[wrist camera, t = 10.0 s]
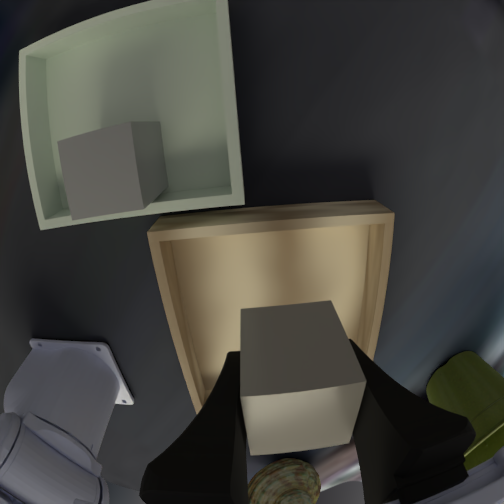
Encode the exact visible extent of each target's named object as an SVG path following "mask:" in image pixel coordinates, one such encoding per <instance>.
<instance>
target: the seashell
mask: <svg viewBox="0 0 504 504" xmlns="http://www.w3.org/2000/svg"><path fill="white" fill-rule="evenodd" d="M320 489H321V483H320V479H319V475H318V473H317V472H316V471H315V469H314V467H313V466H312V465H310V464H309V463H307V462H304V461H302V460H297V459H295V458H285V459H281V460H278V461H275V462H273V463H271V464H269V465H267V466H266V467H264V468H263V469H261V470H260V471H259V472H258V473H256V474H255V475H254V477H253V478H252V479H251V481H250V482H249V484H248V500H249V504H315V503H316V502H317V499H318V497H319V493H320Z"/></svg>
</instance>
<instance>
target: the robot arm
mask: <svg viewBox="0 0 504 504" xmlns="http://www.w3.org/2000/svg"><path fill="white" fill-rule="evenodd" d="M349 341H350V344H351V346H352V348H353V350H354V353H355V355H356V357H357V360H358V362H359V364H360V367H361V369H362V371H363V374H364V376H365V379H366V385H365V389H364V393H363V397H362V401H361V405H360V408H359V412H358V415H357V419H356V422H355V425H354V429H353V432H352V433H353V437H354V441H355V445H356V450H357V455H358V460H359V465H360V471H361V477H362V483H363V490H364V500H365V504H501V503H502V502H504V446H503V447H502V448H500V449H499V450H498V451H497V452H496V453H495V455H494V456H493V457H492V458H490V459H488V460H487V461H485V462H483V463H481V464H479V465H478V466H476V467H474V468H472V469H470V470H468V471H467V470H466V468H465V466H464V464H463V463H464V462H465V461H466V459H465V457H464V455H463V454H464V453H465V451H466V450H467V449H468V448H469V446H470V445H471V444H472V443H473V441H474V440H475V437H476V432H475V430H474V428H473V426H472V424H471V423H470V421H469V420H468V418H467V417H465V416H462V415H459V414H456V413H453V412H450V411H447V410H445V409H442V408H440V407H438V406H435V405H433V404H431V403H429V402H427V401H425V400H424V399H422V398H420V397H418V396H416V395H415V394H413V393H412V392H410V391H409V390H407V389H406V388H404V387H403V386H401V385H400V384H399V383H397V382H396V381H395V380H393V379H392V378H391V377H390V376H389V375H387V374H386V373H385V372H384V371H383V370H382V369H381V368H380V367H379V366H378V365H376V364H375V363H374V362H373V361H372V360H371V359H370V358H369V357H368V356H367V355H366V354H365V353H364V352H363V351H362V350H361V349H360V348H359V347H358V345H357V344H356V343H355V342H354V341H353V340H352V339H349ZM30 345H31V347H32V350H31V352H30V353H29V355H28V356H27V358H26V359H25V360H24V362H23V363H22V365H21V366H20V368H19V369H18V371H17V372H16V374H15V375H14V377H13V378H12V380H11V381H10V383H9V384H8V386H7V388H6V391H5V396H4V411H5V413H2V414H1V415H0V487H2V488H3V489H5V490H6V491H7V492H9V493H10V494H12V495H14V496H15V497H16V498H18V499H19V500H21V501H23V502H24V503H26V504H109V491H108V486H107V483H106V481H105V479H104V478H103V477H102V476H100V473H101V469H102V465H101V464H99V463H98V462H97V461H96V458H97V455H98V452H99V449H100V445H101V442H102V439H103V436H104V433H105V430H106V427H107V424H108V421H109V419H110V416H111V413H112V410H113V407H114V404H115V403H116V404H127V405H132V404H134V398H133V397H132V395H131V393H130V391H129V389H128V387H127V385H126V383H125V380H124V378H123V376H122V374H121V372H120V370H119V368H118V366H117V363H116V361H115V359H114V357H113V354H112V352H111V350H110V347H109V346H108V345H107V344H106V343H103V342H80V341H61V340H47V339H34V338H32V339H31V340H30ZM98 347H99V348H98ZM246 438H247V432H246V427H245V421H244V416H243V410H242V404H241V398H240V351H229V352H228V353H227V356H226V359H225V362H224V365H223V368H222V370H221V373H220V375H219V377H218V379H217V381H216V383H215V386H214V388H213V390H212V391H211V393H210V395H209V397H208V398H207V400H206V402H205V404H204V405H203V407H202V408H201V410H200V411H199V413H198V414H197V415H196V417H195V418H194V420H193V421H192V422H191V423H190V425H189V426H188V427H187V428H186V430H185V431H184V432H183V433H182V434H181V435H180V436H179V437H178V438H177V439H176V440H175V441H174V442H173V443H172V444H171V445H170V446H169V447H168V448H167V449H166V450H165V451H164V452H163V453H161V454H160V455H159V456H158V457H157V458H155V459H154V460H153V461H152V462H150V463H149V464H148V465H147V468H146V470H145V473H144V476H143V478H142V482H141V488H140V495H139V496H140V497H141V499H142V500H143V501H144V502H145V503H146V504H249V500H248V484H247V464H246ZM7 492H5V491H4V490H2V489H1V488H0V504H24V503H22V502H20V501H19V500H17V499H16V498H14V497H13V496H11V495H10V494H8V493H7Z"/></svg>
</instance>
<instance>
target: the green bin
mask: <svg viewBox="0 0 504 504" xmlns="http://www.w3.org/2000/svg"><path fill="white" fill-rule="evenodd" d="M19 96H20V113H21V125H22V135H23V143H24V151H25V158H26V165H27V171H28V176H29V182H30V187H31V192H32V197H33V201H34V206H35V210H36V214H37V219H38V223H39V226H40V230H45V229H51V228H57V227H63V226H70V225H76V224H83V223H89V222H96V221H103V220H110V219H118V218H125V217H133V216H141V215H149V214H157V213H166V212H174V211H184V210H193V209H203V208H213V207H223V206H234V205H245V195H244V182H243V170H242V158H241V147H240V135H239V123H238V112H237V100H236V88H235V76H234V65H233V53H232V41H231V29H230V17H229V5H228V0H151V1H147V2H143V3H139V4H135V5H132V6H128V7H124V8H121V9H118V10H114V11H111V12H108V13H105V14H102V15H99V16H96V17H94V18H91V19H88V20H85V21H83V22H80V23H78V24H75V25H73V26H70V27H68V28H65V29H63V30H61V31H58V32H56V33H54V34H52V35H50V36H47V37H45V38H43V39H41V40H39V41H37V42H35V43H33V44H31V45H29V46H27V47H25V48H24V49H22V50H20V51H19ZM134 121H160V125H161V134H162V142H163V149H164V157H165V164H166V171H167V178H168V185H169V187H168V188H167V189H166V190H165V191H163V192H162V193H161V194H160V195H159V196H158V197H157V198H156V199H155V200H154V201H152V202H151V203H150V204H149V205H148V206H147V207H146V208H145V209H143V210H136V211H129V212H122V213H115V214H109V215H102V216H96V217H90V218H84V219H78V220H72V217H71V213H70V209H69V204H68V200H67V195H66V190H65V185H64V180H63V175H62V169H61V163H60V157H59V151H58V144H57V141H60V140H63V139H67V138H70V137H73V136H77V135H80V134H83V133H87V132H91V131H94V130H98V129H102V128H106V127H110V126H114V125H118V124H122V123H126V122H134Z"/></svg>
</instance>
